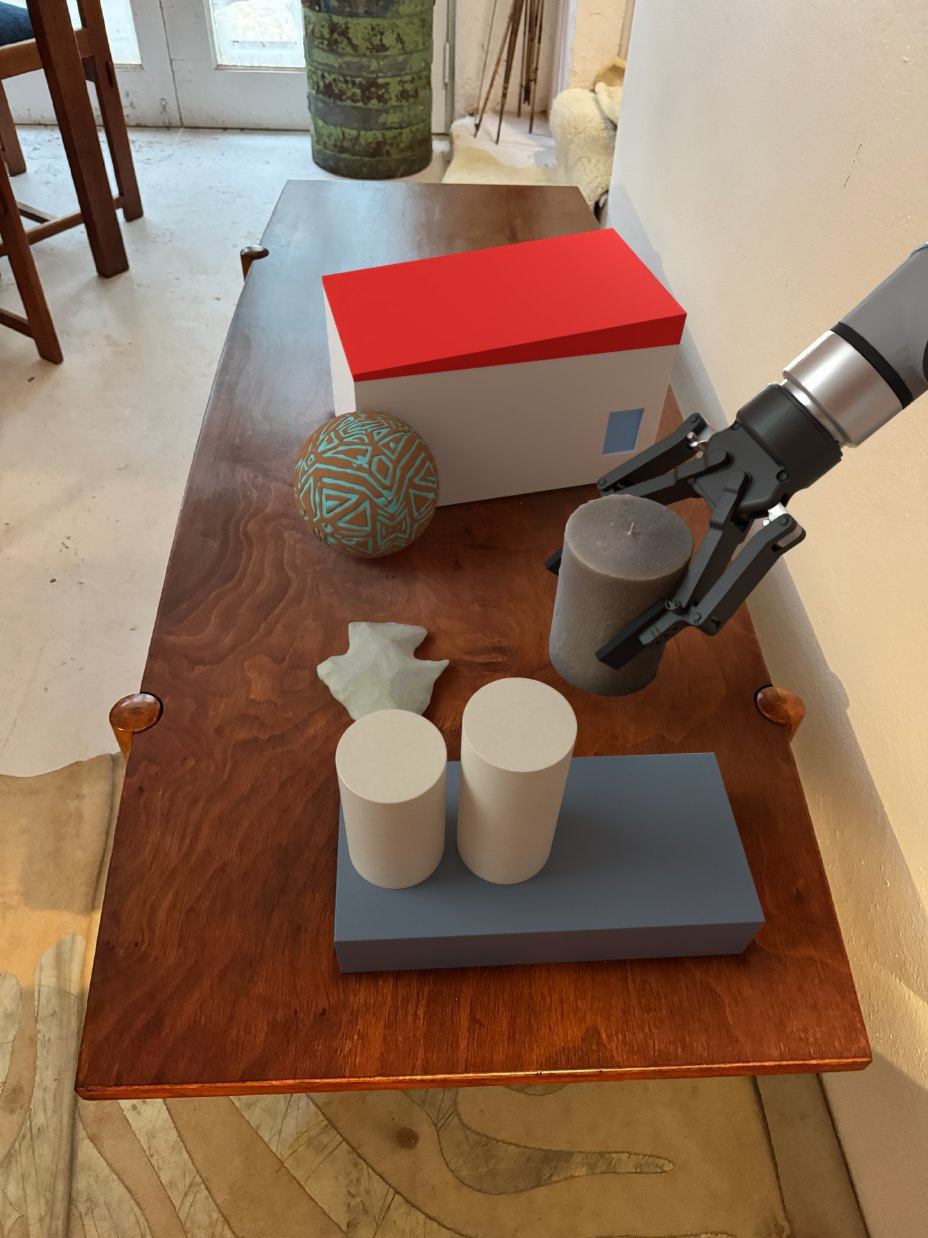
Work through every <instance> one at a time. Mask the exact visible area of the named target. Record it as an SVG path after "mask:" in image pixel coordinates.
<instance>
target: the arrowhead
mask: <svg viewBox="0 0 928 1238" xmlns="http://www.w3.org/2000/svg"><path fill="white" fill-rule="evenodd" d="M347 627H348V633H347V634H348V642H349V647H348V650H347V652H345V653H344V654H343V655H331V656H330V657H328V658H327V659H326V660H325V661H323V662H321V663H320V664H318V665H317V667H316V671H317V675H318V678H319V680H321V681H323V682H324V684H325V685H326V686H327V687H328V688H329V691H330V693H331V695H332V696H333V698H335V699H336V700H337V701H338V702H339V703H340V704H342V705H343V706H344V707H345V709H346V710H347V712H348V714H349V716H350V718H351V719H352V720H354V722H356V721H357V720H359V719H360V718H362V717H364V716H366V715H368V714H371V713H374V712H377V711H381V710H389V709H397V710H405V711H410V712H413V713H416V714H418V715H420V716H422V715H423V714H424V712H425V711H426V709H427V707H428V706H429V705H430V703H431V698H432V694H433V690H434V685H435V682H436V680H438V678H439V677H440V676H441V675H442V673H443V672H444V670H445V669H446V668H447V667H448V665H449V664H450V660H449V659H443V660H442V659H441V660H440V661H439V660H438V661H436V660H431V659H430V660H429V659H427V660H422V659H418V658H416V657H415V655H414V653H415V650H416V648H418V647H420V645H421V644H422V643H423V641H424V639H425V638H426V636H427V635H428V631H427V629H426V628H424V627H423V626H421V625H411V624H408V623H397V622H394V621H391V622H383V623H382V622H381V623H380V622H372V621H353V622H350V623H348V626H347Z"/></svg>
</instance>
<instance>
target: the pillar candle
mask: <svg viewBox="0 0 928 1238" xmlns="http://www.w3.org/2000/svg"><path fill="white" fill-rule="evenodd" d="M564 531H565V532H563V534H564V536H563V537H564V539H563V545H564V546H563V545H562V546H563V553H562V561H561V566H560V569H559V577H558V578H557V587H556V591H555V592H556V593H555V600H554V606H553V613H552V620H551V626H550V634H549V639H548V640H549V641H548V642H549V643H548V654H549V657H550V662H551V664H552V666H553V668H554V669H555V671H556V672H557V673H558V675H559V676H560V677H561V678H563V680H565V681H566V682H567V683H568V684H569V685H571V686H573V687H575V688H576V689H578V690H581V691H584V692H586V693H588V694H591V695H596V696H599V697H604V698H621V697H627V696H629V695H633V694H635V693H638V692H640V691H642V690H644V689H645V688H646V687H648V686H649V685H650V684H651V683H652V682H653V681H654V680H655V679H656V678H657V676H658V673H657V672H658V670H659V667H660V664H661V661H662V659H663V656H664V653H665V650H666V646H667V642H666V643H665V644H664V645H663V646H661V647H660V648H659V649H656V650H651V649H649V648H648V647H646V648H645V649H644V650H643V651H642V652H640V653H639V654H638V655H637V656H635V657H634V658H633V659H632V660H630V661H629V662H628V663H627V664H625V665H624V666H623V667H622V668H620V669H619V670H618V671H617V670H615V669H613V668H611V667H609V666H607V665H606V664H604V663H602V662H600V661H598V659H597V657H596V655H595V654H594V653H595V652H597V651H598V650H599V649H600V648H601V647H603V646H604V645H605V644H606V643H607V642H609V641H610V640H611V639H612V638H614V637H615V636H616V635H617V634H618V633H620V632H621V631H622V630H623V629H624V628H626V627H627V626H628V625H629V624H630V623H632V622H633V621H634V620H635V619H636V618H638V617H639V616H640V615H641V614H643V613H644V612H645V611H646V610H647V609H649V608H650V607H651V606H652V605H653V604H655V603H656V602H657V601H658V600H659V599H662V600H664V601H666V600H668V601H671V602H672V600H673V598H674V596H675V594H676V592H677V590H678V588H679V587H680V585H681V583H682V581H683V579H684V577H685V575H686V573H687V571H688V569H689V567H690V565H691V563H692V558H693V555H694V550H695V549H694V548H695V540H694V539H695V538H694V535H693V532H692V530H691V528H690V526H689V524H688V523H687V522H686V521H685V520H684V519H683V517H682V516H680V515H679V513H677V512H676V511H675V510H673V509H671V508H670V507H668V506H664V505H662V504H660V503H657V502H654V501H652V500H649V499H646V498H641V497H636V496H632V495H629V494H625V495H624V494H623V495H617V494H615V495H609V496H604V497H602V498H601V497H599V498H597V499H596V498H595V499H590V500H588V501H587V502H586V503H582V504H580V505H579V507H578V508H576V509H575V510H574V511H573V512H572V513H571V514H570V515H569V518H568V519H567V522H566V524H565V529H564Z"/></svg>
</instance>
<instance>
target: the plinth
mask: <svg viewBox="0 0 928 1238" xmlns="http://www.w3.org/2000/svg"><path fill="white" fill-rule="evenodd" d="M460 762H461V760H452V761H448V760H447V773H446V808H445V843H444V852H443V856H442V859H441V861H440V863H439V865H438V866H437V868H436V869H435V870H434V872H433V873H432V874H431V875H430V876H429V877H427V878H426V879H425V880H423V881H422V882H420V883H418V884H416V885H413V886H411V887H407V888H401V889H388V888H383V887H379V886H377V885H374V884H372V883H370V882H369V881H367V880H366V879H364V878H363V877H362V876H361V875H360V874H359V873H358V871H357V870H356V869H355V867H354V865H353V863H352V861H351V858H350V854H349V847H348V841H347V834H346V827H345V821H344V814H343V807H342V801H341V794H340V798H339V799H340V800H339V821H338V841H337V842H338V843H337V864H336V867H337V869H336V885H335V886H336V887H335V905H334V906H335V909H334V910H335V911H334V927H333V929H334V931H333V943H334V947H335V953H336V957H337V962H338V966H339V971H340V973H341V974H348V973H349V974H350V973H352V974H353V973H369V972H372V973H373V972H387V971H389V972H391V971H392V972H393V971H413V970H432V969H451V968H452V969H453V968H473V967H494V966H496V967H497V966H513V965H514V966H515V965H535V964H537V965H538V964H555V963H576V962H579V963H580V962H597V961H600V962H601V961H618V960H634V959H635V960H638V959H639V960H640V959H641V960H642V959H657V958H658V959H659V958H678V957H679V958H680V957H681V958H682V957H699V956H700V957H701V956H703V957H704V956H719V955H720V956H721V955H723V956H724V955H740V954H741V955H742V954H743V953H744V952H745V950H747V948H748V946H749V945H750V944H751V942H752V941H753V940H754V938H755V937H756V935H757V934H758V933H759V932H760V930H761V929H762V927H763V926H764V924H765V923H766V919H765V918H766V917H765V915H764V912H763V908H762V905H761V902H760V899H759V895H758V893H757V892H758V891H757V889H756V884H755V882H754V879H753V876H752V872H751V869H750V865H749V863H748V862H749V861H748V858H747V856H746V852H745V849H744V846H743V845H744V844H743V843H742V839H741V835H740V833H739V829H738V826H737V823H736V819H735V816H734V813H733V809H732V806H731V802H730V799H729V797H728V793H727V790H726V786H725V783H724V779H723V776H722V773H721V769H720V767H719V763H718V761H717V757H716V754H715V752H694V753H693V752H692V753H691V752H689V753H688V752H687V753H662V754H660V753H659V754H657V753H656V754H628V755H626V754H625V755H603V756H602V755H601V756H600V755H599V756H597V755H596V756H572V758H571V762H570V767H569V771H568V776H567V780H566V784H565V789H564V793H563V798H562V802H561V806H560V811H559V815H558V819H557V824H556V828H555V833H554V837H553V841H552V846H551V850H550V854H549V857H548V859H547V861H546V863H545V865H544V866H543V868H542V869H541V870H540V871H539V872H538V873H537V874H535V875H534V876H533V877H531V878H529V879H528V880H525V881H523V882H519V883H515V884H497V883H492V882H489V881H486V880H484V879H482V878H480V877H479V876H477V875H476V874H474V873H473V872H472V871H471V870H470V869H469V868H468V867H467V866H466V865H465V863H464V862H463V860H462V858H461V856H460V854H459V851H458V847H457V821H458V801H459V782H460Z"/></svg>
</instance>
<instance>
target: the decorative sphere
mask: <svg viewBox="0 0 928 1238" xmlns="http://www.w3.org/2000/svg"><path fill="white" fill-rule="evenodd" d="M292 477H293V479H292V481H293V482H292V488H293V497H294V501H295V506H296V509H297V511H298V513H299V515H300V517H301V519H302V521H303V522H304V524H305V526H306V527H307V529H308V530H309V531H310V532H311V533H312V535H313V536H314V537H315V538H317V539H318V540H319V541H320V542H321V543H323V544H324V545H326V546H327V547H328V548H330V549H333V550H334V551H336V552H338V553H340V554H342V555H346V556H350V557H354V558H360V559H373V558H380V557H386V556H389V555H392V554H393V553H397V552H400V551H401V550H403V549H405V548H407V547H408V546H409V545H411V544H412V543H413V542H414V541H415V540H417V539H418V538H419V537H420V536H421V535H422V534H423V533H424V531H425V530H426V529H427V527H428V526H429V524H430V523H431V520H432V518H433V516H434V514H435V513H436V508H437V506H436V505H437V502H438V496H439V476H438V470H437V466H436V462H435V459H434V457H433V455H432V453H431V451H430V449H429V447H428V446H427V444H426V442H425V441H424V440H423V438H422V437H421V436H420V435H419V434H418V433H417V432H416V431H415V430H414V429H413V428H412V427H411V426H409V425H408V424H406V423H405V422H403V421H402V420H399V419H397V418H395V417H393V416H391V415H388V414H384V413H380V412H373V411H364V412H357V411H356V412H349V413H345V414H342V415H339V416H337V417H336V416H335V417H332V418H330V419H329V420H327V421H325V422H324V423H323V424H321V425H320V426H319V427H318V428H316V430H315V431H314V432H313V433H312V434H311V435H310V436H309V437H308V438H307V439H306V440H305V442H304V444H303V446H302V447H301V449H300V450H299V453H298V456H297V458H296V461H295V466H294V470H293V476H292Z"/></svg>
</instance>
